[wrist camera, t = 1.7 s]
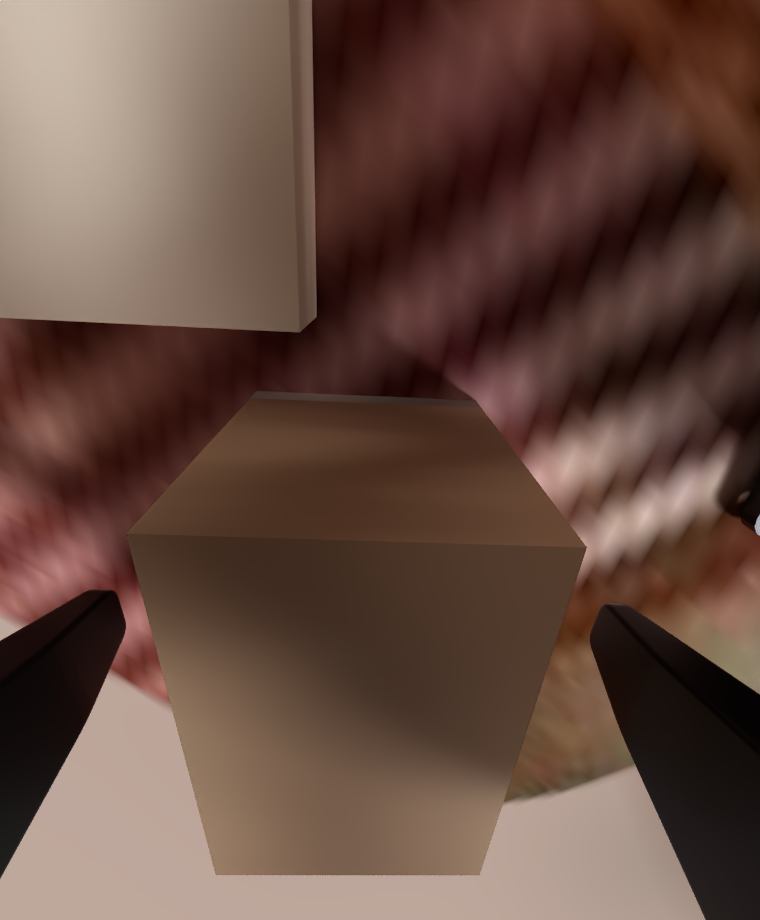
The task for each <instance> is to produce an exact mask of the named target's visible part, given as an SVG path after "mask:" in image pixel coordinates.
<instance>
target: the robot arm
mask: <svg viewBox="0 0 760 920" xmlns="http://www.w3.org/2000/svg"><path fill="white" fill-rule="evenodd" d="M740 517H741V521H742V523H743V524H744V525H745V526H746V527H747V528H749V529H750V530H752V531H753V532H755V533H756V534H757V535H759V536H760V476H759V478H758V480H757V482H756V484H755V486H754V488H753V490H752V492H751V493H750V495H749V497H748V499H747V501H746V503H745V505H744V507H743V509H742V513H741V516H740ZM125 630H126V622H125V618H124V615H123V611H122V608H121V604H120V601H119V598H118V595H117V593H116V592H115V591H113V590H101V589H93V590H88V591H86V592H84V593H82V594H81V595H79V596H77V597H75V598H74V599H72V600H70V601H68V602H67V603H65V604H63V605H61V606H60V607H58V608H56V609H55V610H53V611H51V612H49V613H48V614H46V615H44V616H42V617H41V618H39V619H37V620H36V621H34V622H32V623H30V624H29V625H27V626H25V627H23V628H22V629H20V630H18V631H17V632H15V633H13V634H11V635H10V636H8V637H6V638H4V639H3V640H1V641H0V878H1V876H2V874H3V873H4V871H5V869H6V867H7V865H8V864H9V862H10V860H11V858H12V856H13V855H14V853H15V851H16V849H17V847H18V846H19V844H20V842H21V840H22V838H23V836H24V835H25V833H26V831H27V829H28V827H29V826H30V823H31V822H32V820H33V818H34V816H35V814H36V813H37V811H38V809H39V807H40V806H41V804H42V802H43V800H44V798H45V796H46V795H47V793H48V791H49V789H50V787H51V785H52V784H53V782H54V780H55V778H56V776H57V775H58V773H59V771H60V769H61V767H62V766H63V764H64V762H65V760H66V758H67V757H68V755H69V753H70V751H71V749H72V748H73V746H74V744H75V742H76V740H77V738H78V736H79V734H80V733H81V731H82V729H83V727H84V725H85V723H86V721H87V719H88V717H89V715H90V713H91V710H92V708H93V706H94V704H95V701H96V699H97V697H98V695H99V692H100V690H101V688H102V685H103V683H104V681H105V679H106V676H107V674H108V672H109V669H110V667H111V665H112V662H113V660H114V658H115V656H116V653H117V651H118V649H119V646H120V644H121V642H122V640H123V637H124V634H125ZM590 644H591V648H592V651H593V654H594V657H595V660H596V663H597V666H598V669H599V671H600V674H601V677H602V680H603V683H604V686H605V689H606V692H607V695H608V697H609V700H610V703H611V706H612V709H613V712H614V715H615V718H616V720H617V723H618V725H619V728H620V731H621V733H622V736H623V738H624V740H625V743H626V745H627V747H628V749H629V752H630V754H631V756H632V758H633V760H634V763H635V765H636V767H637V769H638V771H639V773H640V776H641V778H642V780H643V783H644V785H645V787H646V789H647V791H648V793H649V796H650V798H651V800H652V802H653V804H654V807H655V809H656V811H657V813H658V815H659V818H660V820H661V822H662V824H663V827H664V829H665V831H666V833H667V835H668V837H669V840H670V842H671V844H672V846H673V849H674V851H675V853H676V855H677V858H678V860H679V862H680V864H681V866H682V869H683V871H684V872H685V875H686V877H687V879H688V882H689V884H690V886H691V888H692V891H693V893H694V895H695V897H696V899H697V902H698V904H699V906H700V908H701V911H702V913H703V915H704V917H705V919H706V920H760V694H758V693H757V692H755V691H754V690H752V689H751V688H749V687H748V686H746V685H745V684H744V683H742V682H741V681H739V680H738V679H736V678H735V677H733V676H732V675H730V674H729V673H727V672H726V671H724V670H723V669H721V668H720V667H719V666H717V665H716V664H714V663H713V662H711V661H710V660H708V659H707V658H705V657H704V656H702V655H701V654H699V653H698V652H696V651H695V650H694V649H692V648H691V647H689V646H688V645H686V644H685V643H683V642H682V641H680V640H679V639H677V638H676V637H674V636H673V635H671V634H670V633H669V632H667V631H666V630H664V629H663V628H661V627H660V626H658V625H657V624H655V623H654V622H652V621H651V620H649V619H648V618H646V617H645V616H644V615H642V614H641V613H639V612H638V611H636V610H635V609H633V608H632V607H630V606H629V605H626V604H618V603H606V604H603V605H602V606H601V607H600V609H599V612H598V614H597V617H596V620H595V623H594V625H593V628H592V631H591V634H590Z"/></svg>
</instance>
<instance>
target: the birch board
mask: <svg viewBox="0 0 760 920" xmlns="http://www.w3.org/2000/svg"><path fill="white" fill-rule="evenodd" d="M316 317H317V296H316V232H315V167H314V103H313V38H312V0H0V318H15V319H35V320H56V321H76V322H97V323H117V324H138V325H158V326H179V327H199V328H219V329H240V330H260V331H281V332H301V331H302V330H303V329H304V328H305V327H306V326H307V325H308V324H309V323H310V322H312V321H313V320H314V319H315V318H316Z"/></svg>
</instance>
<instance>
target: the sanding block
mask: <svg viewBox="0 0 760 920" xmlns="http://www.w3.org/2000/svg"><path fill="white" fill-rule="evenodd" d="M126 536H127V540H128V544H129V548H130V552H131V555H132V559H133V563H134V567H135V571H136V574H137V578H138V582H139V586H140V589H141V593H142V597H143V601H144V605H145V608H146V612H147V616H148V620H149V624H150V627H151V631H152V635H153V639H154V643H155V646H156V650H157V654H158V658H159V661H160V665H161V669H162V673H163V677H164V680H165V684H166V688H167V692H168V696H169V699H170V703H171V707H172V711H173V715H174V718H175V722H176V726H177V730H178V733H179V737H180V741H181V745H182V749H183V752H184V756H185V760H186V764H187V767H188V771H189V775H190V779H191V782H192V786H193V790H194V794H195V798H196V801H197V805H198V809H199V813H200V817H201V821H202V824H203V828H204V832H205V836H206V839H207V843H208V847H209V851H210V855H211V858H212V862H213V866H214V870H215V873H216V875H479V874H480V871H481V868H482V865H483V862H484V859H485V856H486V853H487V850H488V847H489V844H490V841H491V838H492V835H493V832H494V829H495V826H496V823H497V820H498V816H499V813H500V811H501V808H502V805H503V801H504V798H505V795H506V792H507V789H508V786H509V783H510V780H511V777H512V774H513V771H514V768H515V765H516V762H517V759H518V756H519V753H520V750H521V747H522V744H523V740H524V737H525V734H526V731H527V728H528V725H529V722H530V719H531V716H532V713H533V710H534V707H535V704H536V701H537V698H538V695H539V692H540V689H541V686H542V683H543V679H544V676H545V673H546V670H547V667H548V664H549V661H550V658H551V655H552V652H553V649H554V646H555V643H556V640H557V637H558V634H559V631H560V628H561V625H562V622H563V619H564V615H565V612H566V609H567V606H568V603H569V600H570V597H571V594H572V591H573V588H574V585H575V582H576V579H577V576H578V573H579V570H580V567H581V564H582V561H583V558H584V554H585V551H586V548H587V547H586V546H585V544H584V543H583V542H582V541H581V539H580V538H579V537H578V535H577V534H576V533H575V531H574V530H573V529H572V527H571V526H570V525H569V523H568V522H567V521H566V519H565V518H564V517H563V515H562V514H561V513H560V511H559V510H558V509H557V507H556V506H555V505H554V503H553V502H552V501H551V500H550V498H549V497H548V496H547V494H546V493H545V492H544V490H543V489H542V488H541V486H540V485H539V484H538V482H537V481H536V480H535V478H534V477H533V476H532V474H531V473H530V472H529V470H528V469H527V468H526V466H525V465H524V464H523V462H522V461H521V460H520V459H519V457H518V456H517V455H516V453H515V452H514V451H513V449H512V448H511V447H510V445H509V444H508V443H507V441H506V440H505V439H504V437H503V436H502V435H501V433H500V432H499V431H498V429H497V428H496V427H495V425H494V424H493V423H492V421H491V420H490V419H489V418H488V416H487V415H486V414H485V412H484V411H483V410H482V408H481V407H480V406H479V404H478V403H477V402H476V400H456V399H432V398H409V397H386V396H363V395H339V394H316V393H293V392H270V391H256V392H255V393H254V394H253V395H252V396H251V398H250V399H249V400H248V401H247V402H246V403H245V404H244V405H243V406H242V407H241V408H240V410H239V411H238V412H237V413H236V414H235V415H234V416H233V417H232V418H231V419H230V420H229V422H228V423H227V424H226V425H225V426H224V427H223V428H222V429H221V430H220V431H219V432H218V434H217V435H216V436H215V437H214V438H213V439H212V440H211V441H210V442H209V443H208V444H207V446H206V447H205V448H204V449H203V450H202V451H201V452H200V453H199V454H198V455H197V456H196V458H195V459H194V460H193V461H192V462H191V463H190V464H189V465H188V466H187V467H186V468H185V470H184V471H183V472H182V473H181V474H180V475H179V476H178V477H177V478H176V479H175V480H174V482H173V483H172V484H171V485H170V486H169V487H168V488H167V489H166V490H165V491H164V492H163V494H162V495H161V496H160V497H159V498H158V499H157V500H156V501H155V502H154V503H153V504H152V506H151V507H150V508H149V509H148V510H147V511H146V512H145V513H144V514H143V515H142V516H141V518H140V519H139V520H138V521H137V522H136V523H135V524H134V525H133V526H132V527H131V528H130V530H129V531H128V532H127V533H126Z"/></svg>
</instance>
